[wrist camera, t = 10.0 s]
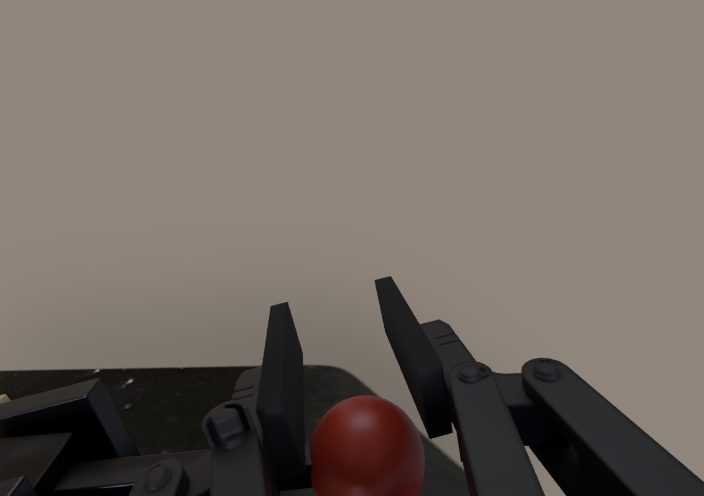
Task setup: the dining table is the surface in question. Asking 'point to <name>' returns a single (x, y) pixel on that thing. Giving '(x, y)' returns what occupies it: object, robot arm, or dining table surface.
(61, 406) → the lever bracket
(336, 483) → the lever
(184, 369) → the dining table surface
